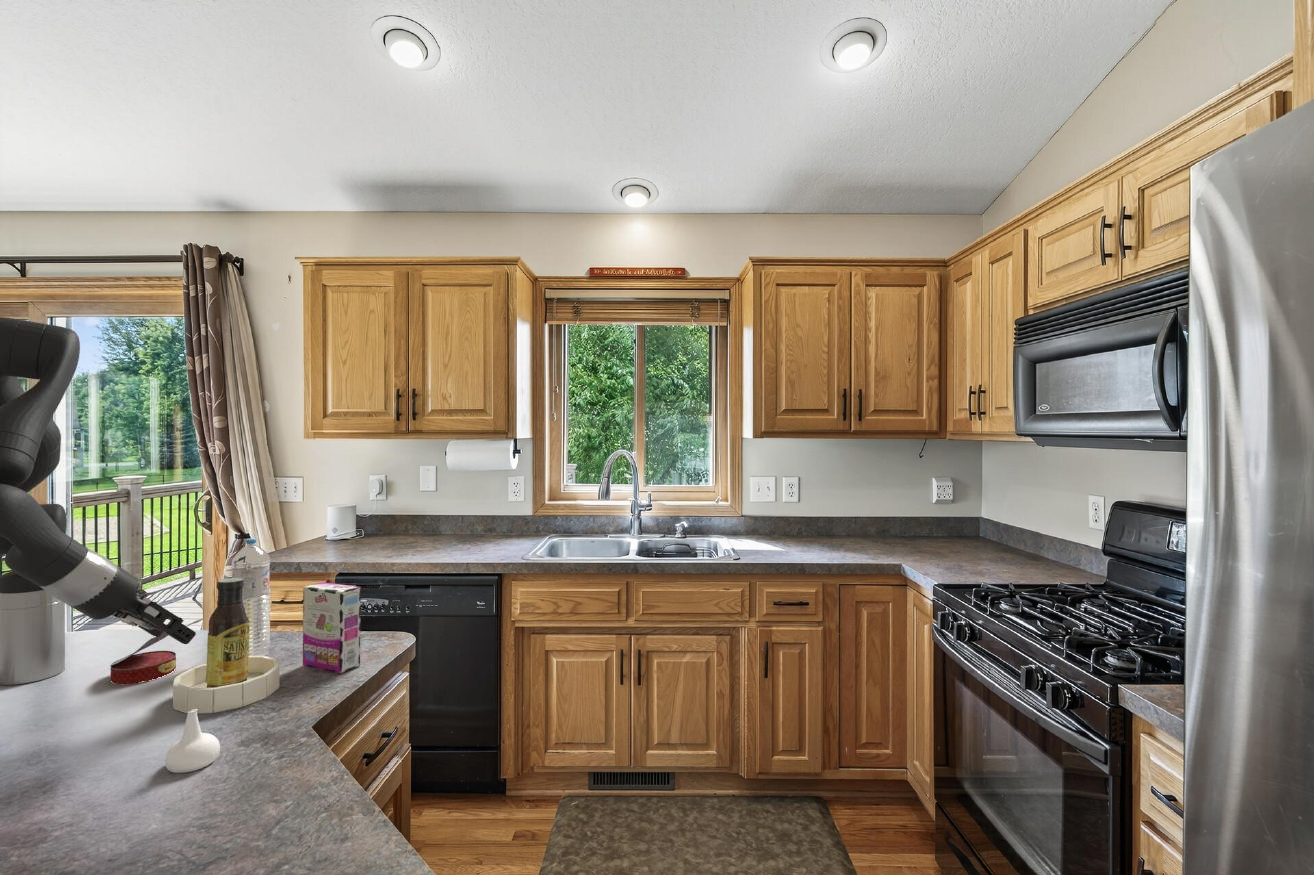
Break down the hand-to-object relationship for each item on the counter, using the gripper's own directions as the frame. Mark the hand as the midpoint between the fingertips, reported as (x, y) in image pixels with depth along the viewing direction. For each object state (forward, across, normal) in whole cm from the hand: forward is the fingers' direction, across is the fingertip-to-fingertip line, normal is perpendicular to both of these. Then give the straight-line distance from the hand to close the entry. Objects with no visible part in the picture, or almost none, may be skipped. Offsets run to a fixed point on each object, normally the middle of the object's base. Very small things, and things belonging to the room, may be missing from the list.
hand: (176, 635), depth 103 cm
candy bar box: (+28, -5, -8) cm, 29 cm away
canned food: (+14, +24, +5) cm, 28 cm away
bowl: (+15, 0, +3) cm, 16 cm away
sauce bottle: (+15, 0, +3) cm, 15 cm away
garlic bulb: (+4, -20, +15) cm, 25 cm away
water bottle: (+25, +15, -6) cm, 29 cm away
